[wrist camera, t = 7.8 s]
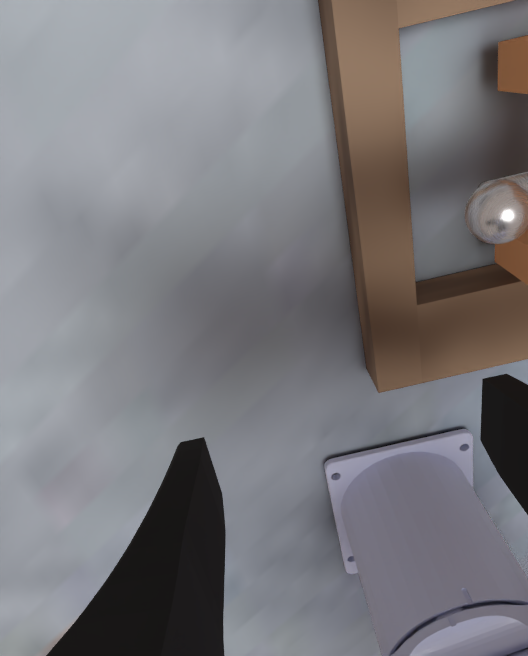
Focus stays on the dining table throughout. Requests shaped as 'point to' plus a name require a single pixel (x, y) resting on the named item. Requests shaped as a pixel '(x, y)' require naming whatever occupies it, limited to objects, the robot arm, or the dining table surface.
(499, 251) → the orange arch block
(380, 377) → the brown wooden frame
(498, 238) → the meat mallet
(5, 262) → the dining table surface
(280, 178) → the dining table surface
